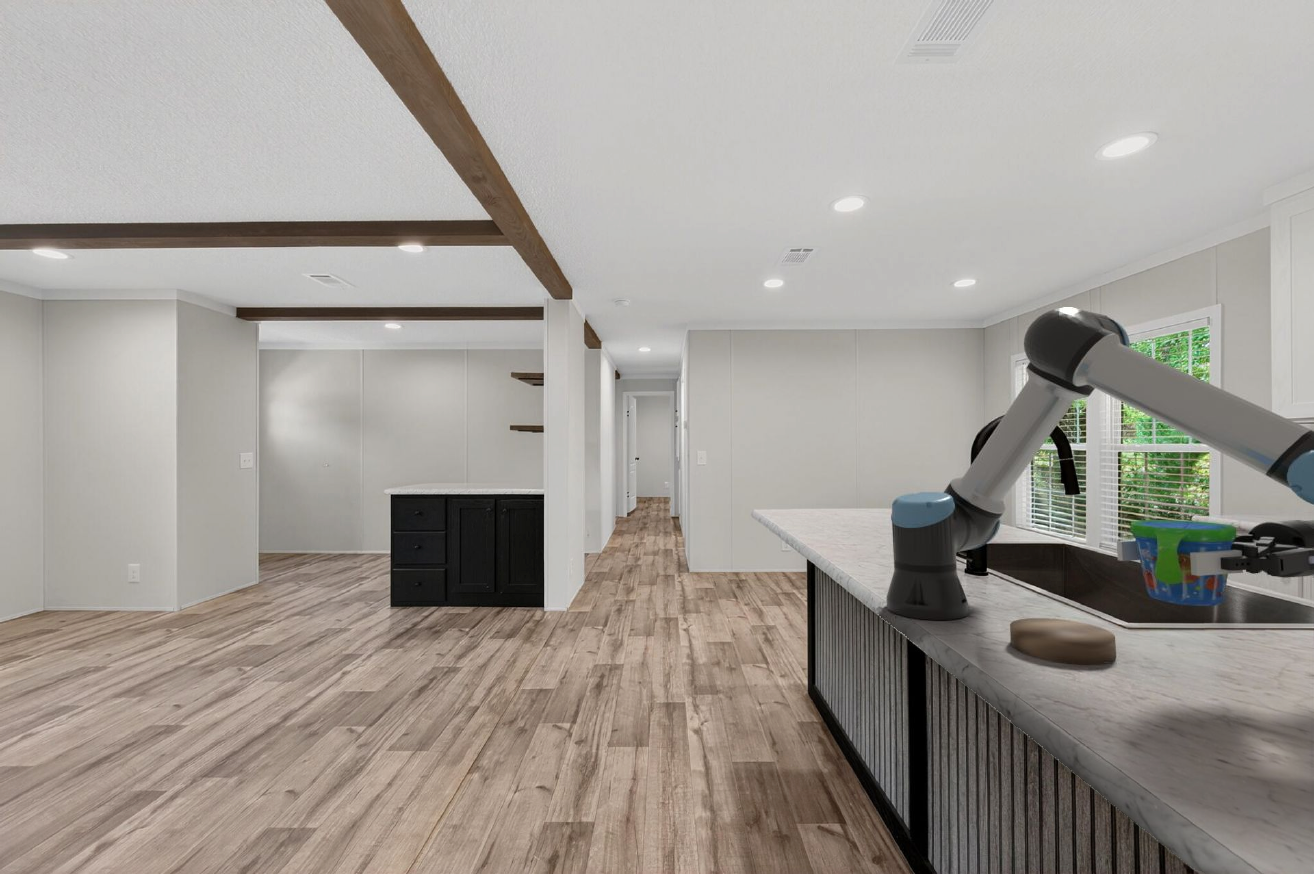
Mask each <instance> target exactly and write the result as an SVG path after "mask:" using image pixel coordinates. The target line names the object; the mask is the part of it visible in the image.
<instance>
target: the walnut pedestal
mask: <svg viewBox="0 0 1314 874" xmlns="http://www.w3.org/2000/svg"><path fill="white" fill-rule="evenodd" d="M1009 631H1010V632H1009V633H1010V635H1009V636H1010V646H1011V647H1012V648H1013V649H1015V650H1016V651H1019V652H1021V653H1023V654H1025V655H1028V656H1031V657H1034V658H1037V659H1042V660H1046V661H1051V662H1055V663H1062V664H1072V665H1085V664H1086V665H1088V664H1089V665H1091V664H1093V666H1094V665H1101V664H1102V665H1103V664H1104V665H1105V664H1109V663H1112V662H1113V660H1114V661H1115V660H1116V659H1117V648H1116V636H1115V634H1114V633H1113V632H1112V631H1109V630H1107V629H1105V628H1102V627H1099V626H1097V625H1093V624H1089V623H1084V622H1079V621H1075V620H1066V619H1060V618H1046V617H1045V618H1043V617H1035V618H1034V617H1032V618H1031V617H1030V618H1028V617H1027V618H1022V619H1016V620H1014V621H1012V622H1010V624H1009ZM1108 662H1109V663H1108Z"/></svg>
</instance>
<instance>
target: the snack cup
mask: <svg viewBox="0 0 1314 874" xmlns="http://www.w3.org/2000/svg"><path fill="white" fill-rule="evenodd" d="M1129 530H1130V533H1131V534H1132V535H1133V538H1134V540H1136V545H1137V550H1138V554H1139V559H1140V560H1139V562H1140V566H1141V570H1142V575H1143V578H1144V583H1145V586H1146V587H1145V588H1146V591H1147V593H1148V595H1149V596H1150V598H1151V599H1154V600H1155V599H1156V600H1158V601H1162V602H1166V603H1170V604H1176V605H1182V606H1194V607H1215V606H1217V605H1220V604H1222V603H1223V602H1224V597H1225V594H1226V590H1227V589H1226V588H1227V583H1228V580H1227V579H1228V577H1229V574H1217V575H1202V576H1196V575H1191V559H1190V553H1193V552H1209V551H1225V550H1231V546H1232V543H1233V542H1234V540H1235V539H1236V534H1237V529H1236V527H1235V526H1234V525H1230V524H1225V523H1218V522H1210V521H1209V522H1207V521H1194V520H1193V521H1192V520H1172V519H1171V520H1169V519H1166V520H1163V519H1161V520H1160V519H1159V520H1158V519H1157V520H1156V519H1154V520H1153V519H1150V520H1135V521H1132V522H1130V527H1129Z"/></svg>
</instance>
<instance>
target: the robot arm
mask: <svg viewBox="0 0 1314 874" xmlns="http://www.w3.org/2000/svg"><path fill="white" fill-rule="evenodd" d="M1130 344H1131V342H1130V338H1129V336H1128V332H1127V331H1126V329H1125V328H1124V327H1123V326H1122V325H1121V324H1120V323H1119V322H1117V321H1115V320H1114V319H1112V318H1111V317H1109V316H1107V315H1104V314H1100V313H1099V312H1098V313H1097V312H1092V311H1089V310H1084V309H1080V308H1076V307H1068V306H1067V307H1059V308H1055V309H1051V310H1048V311H1046V312H1045V313H1042V314H1041V315H1039V316H1037V318H1036V319H1034V321H1032V322H1031V324H1030V325H1029V326H1028V328H1027V331H1026V332H1025V334H1024V339H1023V349H1024V352H1025V356H1026V358H1027V359H1028V361H1029V363H1028V364H1027V366H1026V368H1025V369H1026V372H1027V375H1028V379H1027V381H1026V382H1025V384H1024V386H1023V387H1022V389H1021V390H1020V392H1019V393H1018V395H1017V396H1016V398H1015V399H1014V400H1013V402H1012V403H1011V405H1010V407H1009V408H1008V410H1007V411H1006V413H1005V414H1004V416H1003V417H1002V418H1001V420H1000V421H999V422H998V425H997V426H996V427H995V429H994V430H993V432H992V433H991V435H990V437H989V438H988V440H986V442H985V444H984V445H983V447H982V448H981V450H980V451H979V453H978V454H977V455H976V457H975V458H974V460H973V462H972V463H971V465H970V467H968V469H967V471H966V472H965V474H964V475H963V476H962V477H957V478H953V479H951V480H950V483H948V485H947V486H946V488H945V489H944V491H943V492H939V491H927V492H926V491H924V492H923V491H921V492H917V493H909V494H904V495H900V496H898V497H896V498H895V499H894V500H893V502H892V504H891V516H890V520H891V529H892V531H891V532H892V552H893V575H892V578H891V580H890V583H889V587H888V591H887V594H886V598H885V600H886V609H887V610H888V611H890V612H891V613H894V614H896V615H899V616H904V617H907V618H913V619H920V620H932V621H948V620H949V621H950V620H958V619H961V618H962V619H963V618H965V617H967V616H968V615H969V614H970V613H969V601H968V598H967V596H966V593H965V591H964V588H963V586H962V583H961V580H960V579H959V575H958V570H957V569H958V568H957V553H958V552H959V553H960V552H963V551H968V550H976V549H978V548H981V547H983V546H985V545H986V544H988V543H990V542H992V540H993V539H994V538H995V537H996V535H997V534H998V533H999V530H1000V526H1001V519H1000V518H1001V517H1002V516H1003V514H1004V513H1005V512H1006V509H1007V508H1006V504H1005V501H1004V499H1005V498H1006V496H1007V495H1008V494H1009V492H1010V491H1011V489H1012V488H1013V487H1014V485H1015V484H1016V482H1017V481H1018V479H1019V478H1020V477H1021V476H1022V474H1023V472H1025V470H1026V469H1027V467H1028V466H1029V464H1030V463H1031V462H1032V461H1033V459H1034V458H1035V456H1036V455H1037V453H1038V452H1039V450H1040V449H1041V448H1042V446H1043V445H1044V444H1045V442H1046V441H1047V440H1048V438H1049V437H1050V435H1052V433H1053V431H1054V430H1055V428H1056V427H1057V426H1058V424H1059V423H1060V421H1061V420H1062V419H1063V417H1064V416H1065V415H1066V413H1067V412H1068V411H1069V409H1070V407H1072V405H1073V404H1074V402H1075V401H1077V400H1080V399H1084V398H1085V399H1086V398H1089V397H1090V396H1091V394H1093V392H1094V390H1095V389H1097V390H1098V391H1100V392H1102V393H1104V394H1105V395H1108V396H1110V397H1112V398H1113V399H1115V400H1117V401H1120V402H1122V403H1123V404H1125V405H1128V407H1129V406H1130V407H1131V408H1133V409H1135V410H1136V411H1139V412H1141V413H1143V414H1145V415H1148V416H1149V417H1151V418H1153V419H1155V420H1157V421H1158V422H1161V423H1163V424H1165V425H1167V426H1169V427H1170V428H1173V429H1174V430H1176V431H1179V433H1182V434H1184V435H1186V436H1188V437H1190V438H1193V439H1194V440H1196V441H1199V442H1200V443H1202V444H1203V445H1206V446H1208V447H1210V448H1212V449H1214V450H1215V451H1217V452H1220V453H1221V454H1224V455H1225V456H1227V457H1230V458H1231V459H1233V460H1235V461H1238V462H1239V463H1241V464H1242V465H1245V466H1247V467H1249V468H1251V469H1253V470H1255V471H1257V472H1258V473H1261V474H1263V475H1264V476H1266V477H1268V478H1270V479H1272V480H1273V481H1275V482H1277V483H1278V484H1281V485H1283V486H1284V487H1287V488H1289V489H1290V490H1291V491H1292V492H1293V493H1294V494H1295V495H1296V496H1297V497H1298V498H1300V499H1302V500H1303V501H1305V502H1306V503H1309V504H1311V505H1314V430H1313V429H1311V428H1308V427H1306V426H1304V425H1302V424H1300V423H1297V422H1295V421H1293V420H1290V419H1289V418H1286V417H1284V416H1282V415H1280V414H1277V413H1275V412H1273V411H1270V410H1269V409H1266V408H1265V407H1262V406H1259V405H1257V404H1255V403H1253V402H1251V401H1249V400H1247V399H1244V398H1242V397H1240V396H1237V395H1235V394H1233V393H1231V392H1228V391H1226V390H1224V389H1222V388H1220V387H1217V386H1215V385H1213V384H1211V383H1209V382H1206V381H1204V380H1202V379H1199V378H1197V377H1196V376H1193V375H1191V374H1188V373H1186V372H1184V371H1182V370H1180V369H1178V368H1176V367H1173V366H1172V365H1171V366H1170V365H1168V364H1166V363H1164V362H1162V361H1160V360H1158V359H1156V358H1153V357H1151V356H1149V355H1148V354H1147V355H1146V354H1144V353H1142V352H1140V351H1139V350H1136V349H1133V348H1131V345H1130ZM1116 551H1117V555H1116V556H1117V561H1121V562H1130V561H1132V562H1133V561H1140V559H1139V554H1138V550H1137V545H1136V539H1129V540H1128V539H1125V540H1116ZM1190 559H1191V575H1196V576H1202V575H1217V574H1228V575H1229V574H1243V573H1244V571H1245V572H1246V573H1249V574H1254V575H1256V574H1260V573H1261V572H1264V573H1266V575H1267V576H1271V577H1276V578H1277V577H1278V578H1282V579H1285V578H1298V577H1299V578H1301V577H1309V576H1312V578H1314V518H1308V519H1307V518H1306V519H1305V518H1304V519H1294V520H1292V519H1291V520H1278V521H1277V520H1275V521H1266V522H1261V523H1259V524H1257V525H1255V526H1254V527H1253V528H1252V529H1251V530H1250V531H1249V532H1248V533H1247V534H1245V533H1242V534H1239V533H1236V539H1235V540H1234V542H1233V543H1232V546H1231V550H1225V551H1209V552H1193V553H1190Z"/></svg>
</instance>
